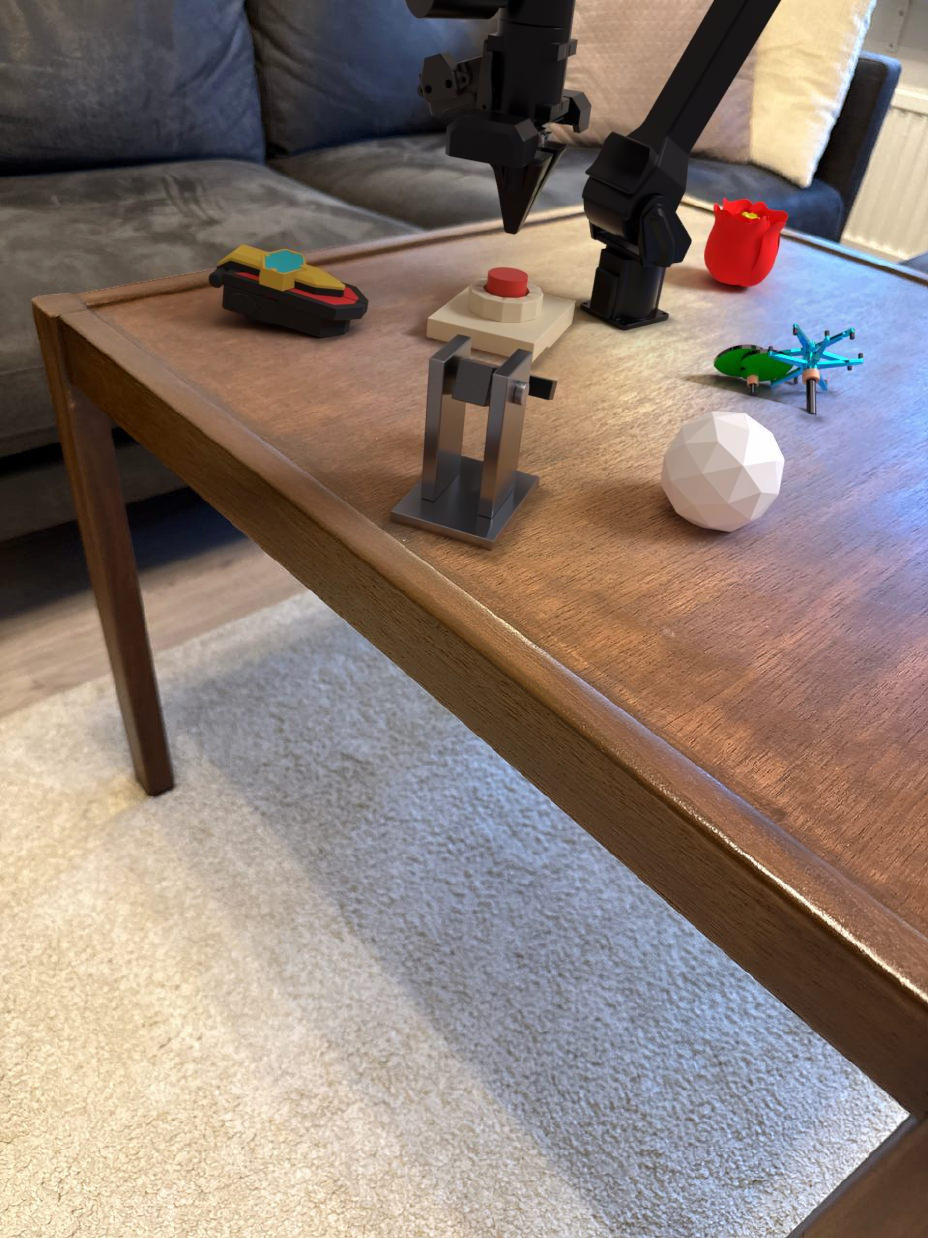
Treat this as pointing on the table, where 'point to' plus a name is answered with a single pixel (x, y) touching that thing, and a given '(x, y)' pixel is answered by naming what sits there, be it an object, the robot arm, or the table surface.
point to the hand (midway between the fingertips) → (511, 232)
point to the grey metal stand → (465, 487)
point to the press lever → (478, 379)
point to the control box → (503, 319)
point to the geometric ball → (722, 470)
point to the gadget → (286, 292)
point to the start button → (507, 282)
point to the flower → (743, 242)
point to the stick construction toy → (786, 363)
